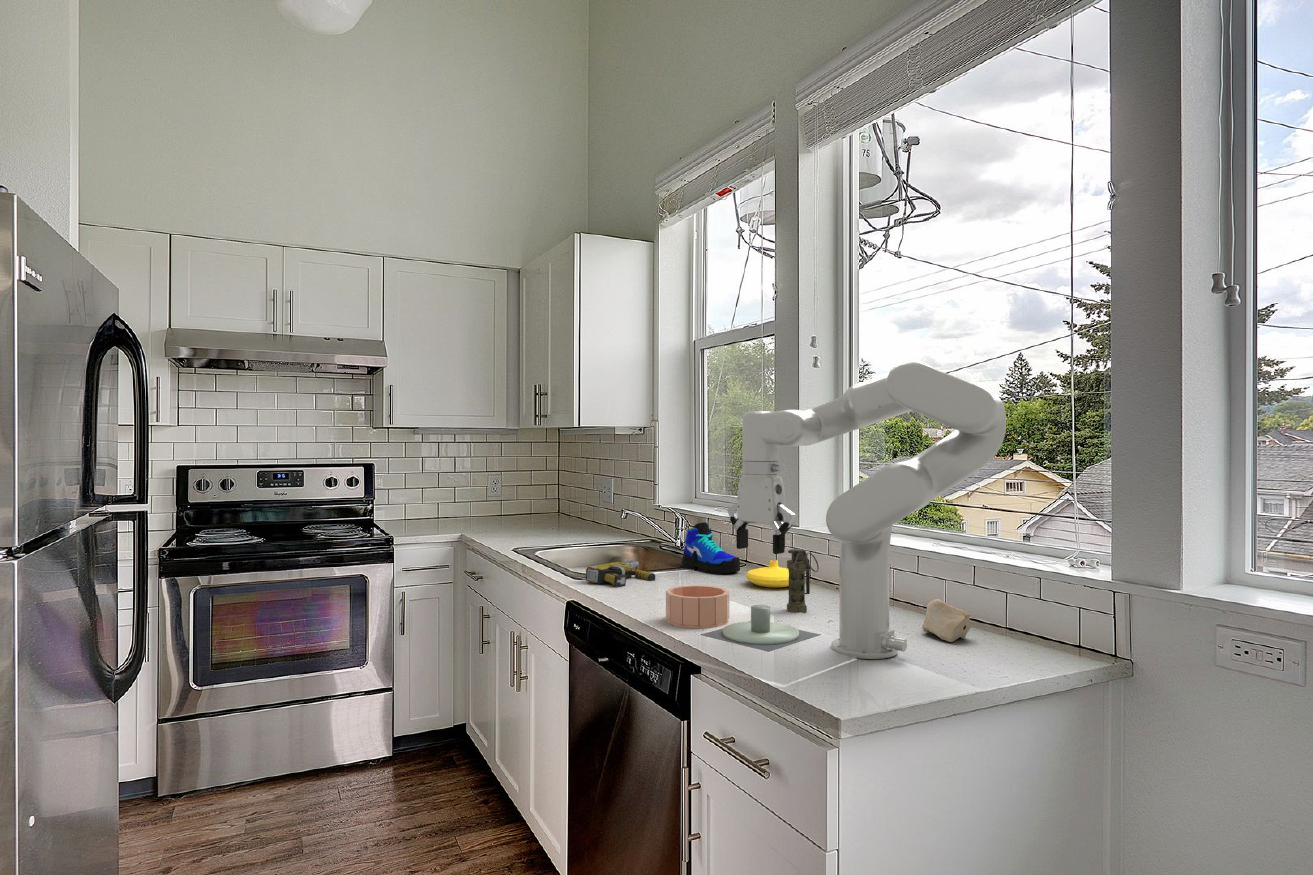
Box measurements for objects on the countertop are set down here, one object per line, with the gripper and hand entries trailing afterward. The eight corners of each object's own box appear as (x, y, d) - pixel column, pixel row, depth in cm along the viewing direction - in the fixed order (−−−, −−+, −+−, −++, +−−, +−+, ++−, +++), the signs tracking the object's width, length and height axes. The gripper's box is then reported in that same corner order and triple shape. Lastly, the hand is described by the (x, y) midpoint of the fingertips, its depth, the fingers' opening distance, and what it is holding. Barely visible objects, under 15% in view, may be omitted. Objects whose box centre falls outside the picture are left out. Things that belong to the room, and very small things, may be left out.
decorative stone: (935, 627, 173) (935, 595, 173) (976, 641, 161) (976, 607, 161) (908, 630, 170) (908, 597, 170) (948, 645, 158) (948, 609, 158)
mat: (820, 636, 164) (820, 634, 164) (768, 653, 152) (768, 651, 152) (753, 622, 177) (753, 619, 177) (700, 636, 165) (700, 634, 165)
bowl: (741, 622, 177) (741, 591, 177) (699, 633, 167) (699, 600, 167) (695, 612, 187) (695, 583, 187) (654, 622, 177) (654, 591, 177)
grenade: (795, 616, 182) (795, 552, 182) (779, 611, 187) (779, 549, 187) (824, 612, 187) (824, 549, 186) (808, 607, 192) (808, 546, 192)
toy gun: (671, 566, 236) (629, 558, 244) (627, 575, 215) (583, 565, 223) (669, 582, 236) (628, 573, 244) (625, 592, 215) (582, 582, 223)
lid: (814, 634, 164) (814, 606, 164) (767, 649, 153) (767, 619, 153) (754, 621, 176) (754, 595, 176) (706, 634, 165) (706, 607, 165)
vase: (805, 582, 225) (805, 557, 225) (798, 592, 210) (798, 566, 210) (751, 579, 230) (751, 555, 230) (740, 589, 215) (740, 563, 215)
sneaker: (724, 577, 232) (724, 527, 232) (675, 567, 251) (675, 520, 251) (747, 574, 238) (747, 525, 238) (697, 564, 257) (697, 518, 257)
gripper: (804, 470, 161) (804, 553, 161) (740, 467, 173) (739, 544, 173) (782, 471, 156) (782, 557, 156) (717, 468, 168) (717, 548, 168)
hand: (760, 550), depth 165 cm, fingers open, 9 cm apart
